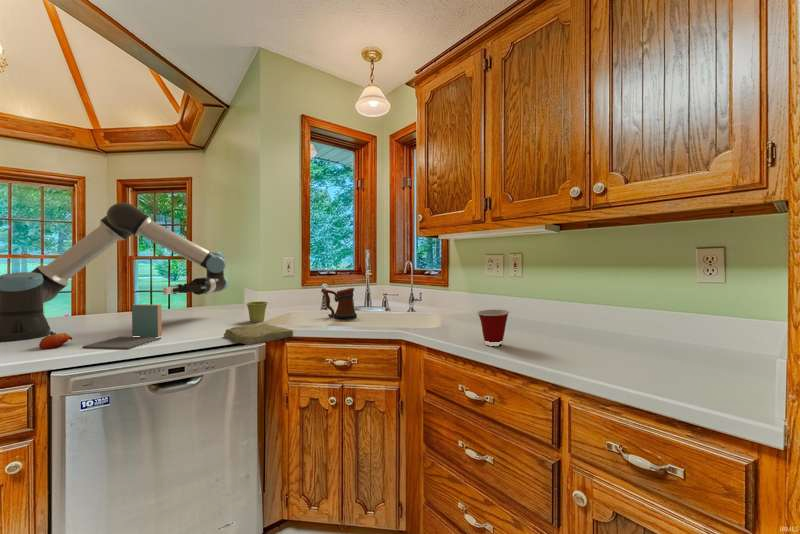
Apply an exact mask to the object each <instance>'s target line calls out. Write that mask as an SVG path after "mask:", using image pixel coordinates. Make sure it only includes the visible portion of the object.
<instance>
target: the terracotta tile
mask: <svg viewBox="0 0 800 534" xmlns="http://www.w3.org/2000/svg"><path fill="white" fill-rule="evenodd" d="M162 320H163V319H162V304H138V303H137V304H131V328H132V329H131V333H132V334H131V337H132V336H140V337H159V336H162V335H163V332H162V328H163V327H162V326H163V323H162ZM162 337H163V336H162ZM159 338H160V337H159Z"/></svg>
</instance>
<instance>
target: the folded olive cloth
mask: <svg viewBox="0 0 800 534" xmlns="http://www.w3.org/2000/svg"><path fill="white" fill-rule="evenodd" d="M223 337H224V338H227V339H231V340H232V341H233V340H234V342H236V343H238V344H239V343H240V344H244V345H246V346H252V345H257V344H263V343H268V342H272V341H277V340H281V339H287V338H291V337H294V330H293V329H290V328H289V329H288V328H286V327H282V326H277V325H273V324H272V325H271V324H268V323H258V324H256V323H255V324H254V323H253V324H246V325H242V326H234V327H233V326H232V327H231V328H226V330H225V332H224V333H223Z"/></svg>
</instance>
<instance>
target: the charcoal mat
mask: <svg viewBox="0 0 800 534" xmlns="http://www.w3.org/2000/svg"><path fill="white" fill-rule="evenodd" d="M158 339H161V340H162V337H159V338H156V337H132V336H116V337H112V338H109V339H106V340H105V339H104V340H100V341H98V342H94V343H89V344H85V345H82V349H99V348H101V349H102V350H103V349H104V350H105V349H106V350H107V349H109V350H131V349H135V348H137V347H136V346H138V347H140V346H139V345H141V346H143V345H142V344H144V345H146V344H145V343H148V344H150V343H149V342H151V343H153V342H152V341H154V342H156V341H155V340H157V341H159V340H158ZM134 347H135V348H134Z"/></svg>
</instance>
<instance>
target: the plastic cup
mask: <svg viewBox="0 0 800 534" xmlns="http://www.w3.org/2000/svg"><path fill="white" fill-rule="evenodd" d="M509 313H510V311H509V310H507V309H497V308H496V309H484V310H479V311H477V315H478V316H479V320H480V324H481V331H482V336H483V341H484V340H485V341H489V342H500V341H504V336H505V330H506V325H507V321H508V315H509Z"/></svg>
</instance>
